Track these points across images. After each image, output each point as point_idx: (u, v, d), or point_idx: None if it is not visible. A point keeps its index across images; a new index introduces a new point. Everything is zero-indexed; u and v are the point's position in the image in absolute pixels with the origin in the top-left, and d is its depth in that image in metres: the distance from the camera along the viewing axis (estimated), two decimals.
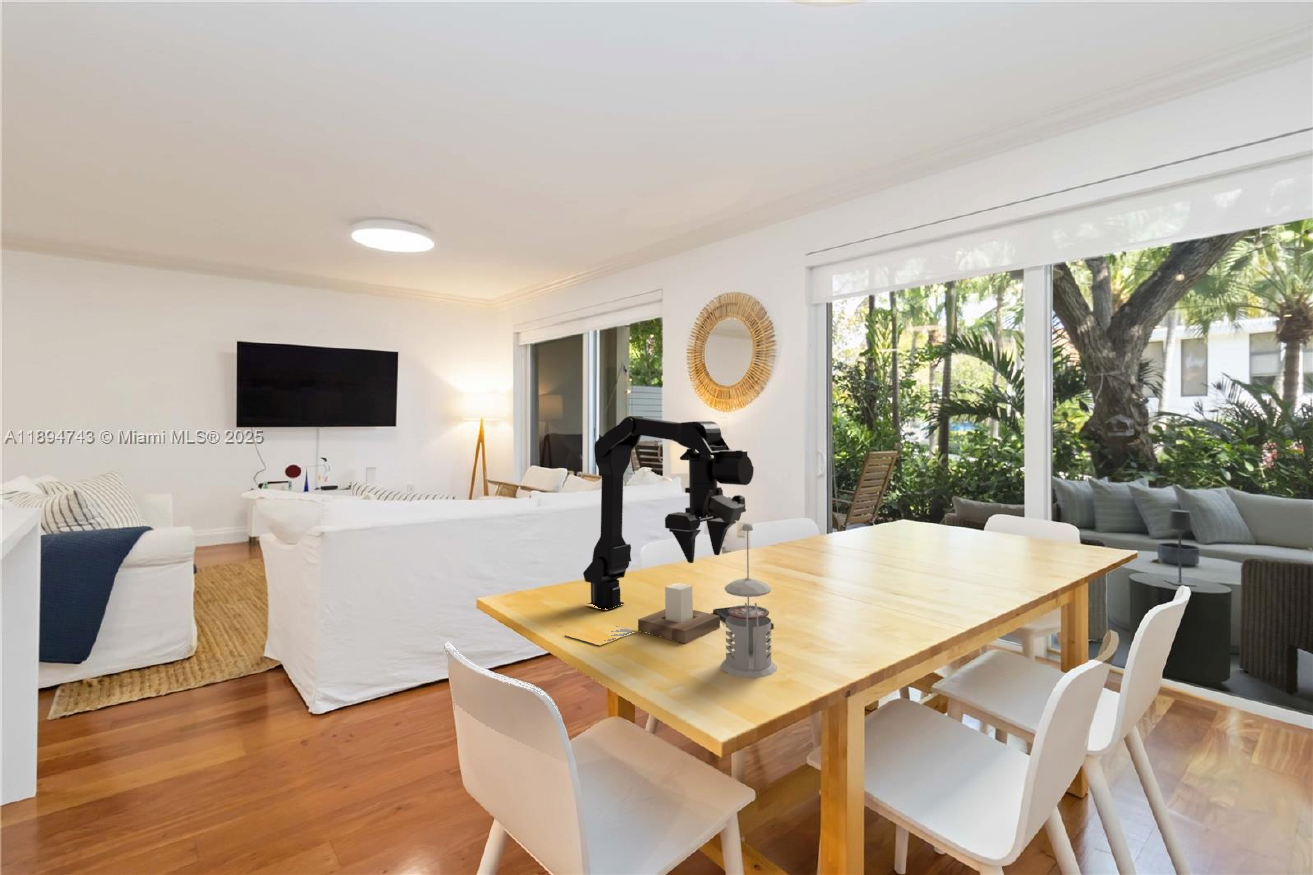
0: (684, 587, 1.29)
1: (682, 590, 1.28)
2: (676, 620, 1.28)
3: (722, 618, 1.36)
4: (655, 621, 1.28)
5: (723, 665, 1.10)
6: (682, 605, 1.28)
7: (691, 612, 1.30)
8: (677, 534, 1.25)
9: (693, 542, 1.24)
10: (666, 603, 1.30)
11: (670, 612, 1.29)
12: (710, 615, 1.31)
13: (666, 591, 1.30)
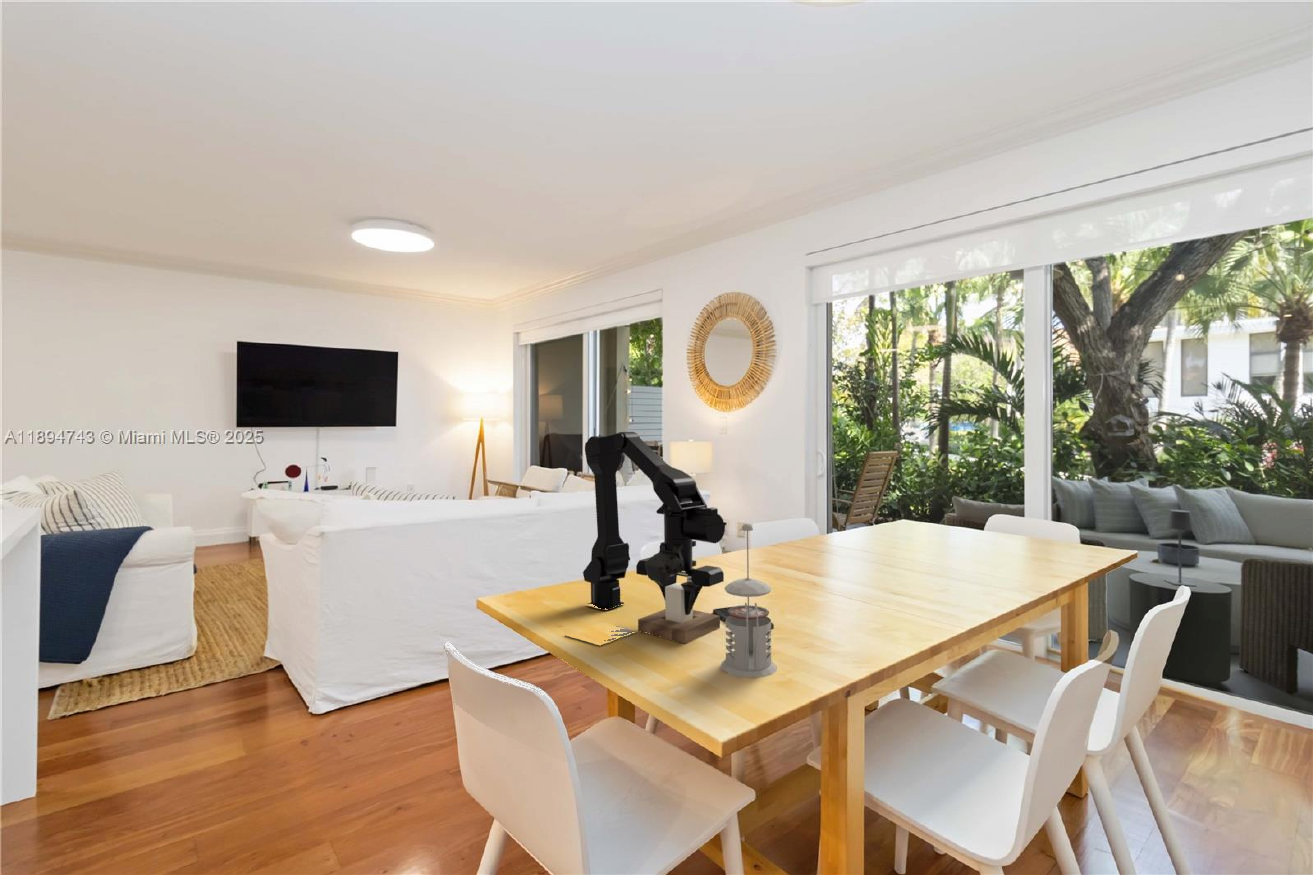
0: None
1: (682, 590, 1.28)
2: (676, 619, 1.28)
3: (722, 618, 1.36)
4: (655, 621, 1.28)
5: (723, 665, 1.10)
6: (682, 605, 1.28)
7: (691, 612, 1.30)
8: None
9: (664, 590, 1.31)
10: (666, 603, 1.30)
11: (670, 612, 1.29)
12: (710, 615, 1.31)
13: (666, 591, 1.30)
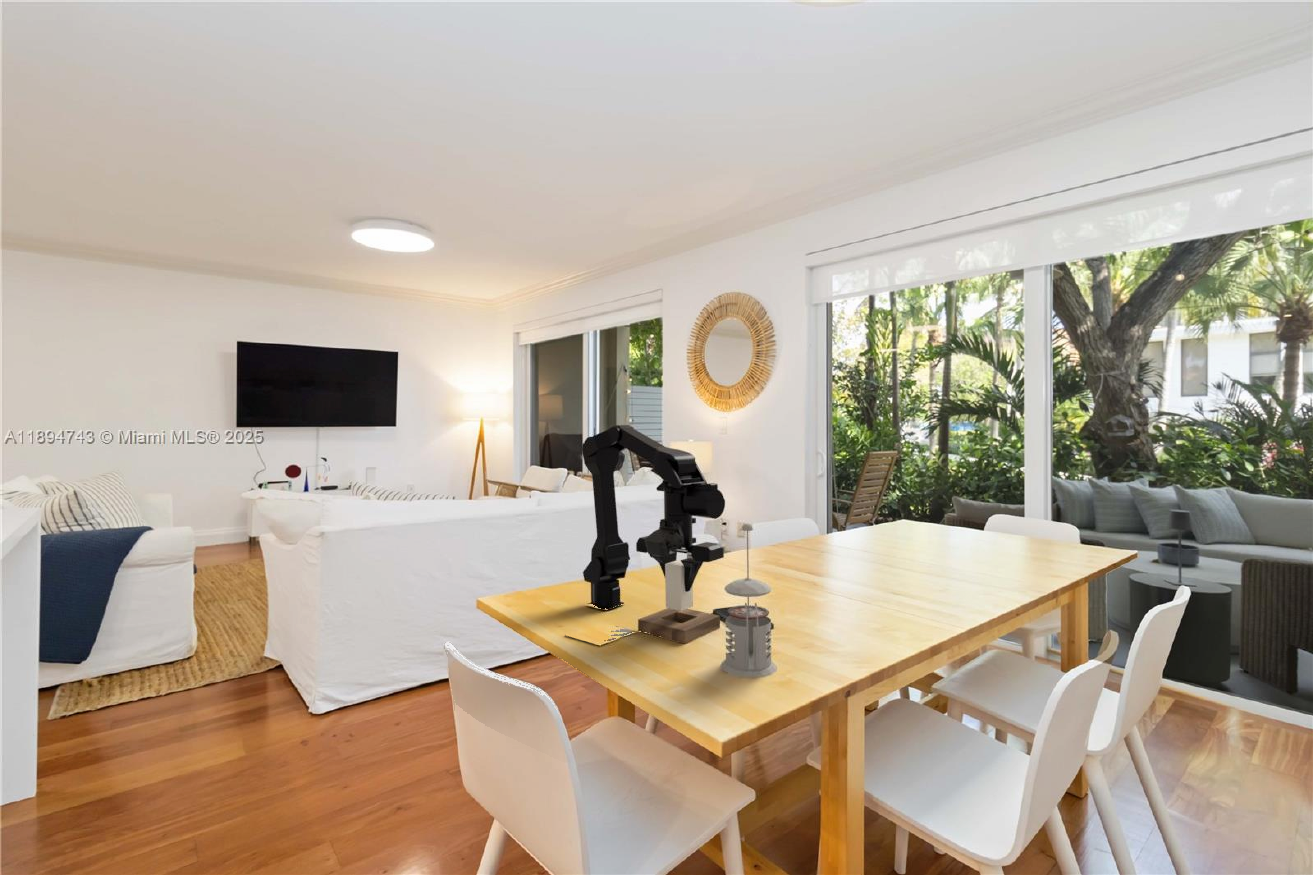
0: None
1: (682, 567, 1.28)
2: (676, 596, 1.28)
3: (722, 618, 1.36)
4: (655, 621, 1.28)
5: (723, 665, 1.10)
6: (682, 582, 1.27)
7: (691, 589, 1.30)
8: None
9: (664, 568, 1.31)
10: (665, 580, 1.30)
11: (670, 589, 1.29)
12: (710, 615, 1.31)
13: (666, 568, 1.29)
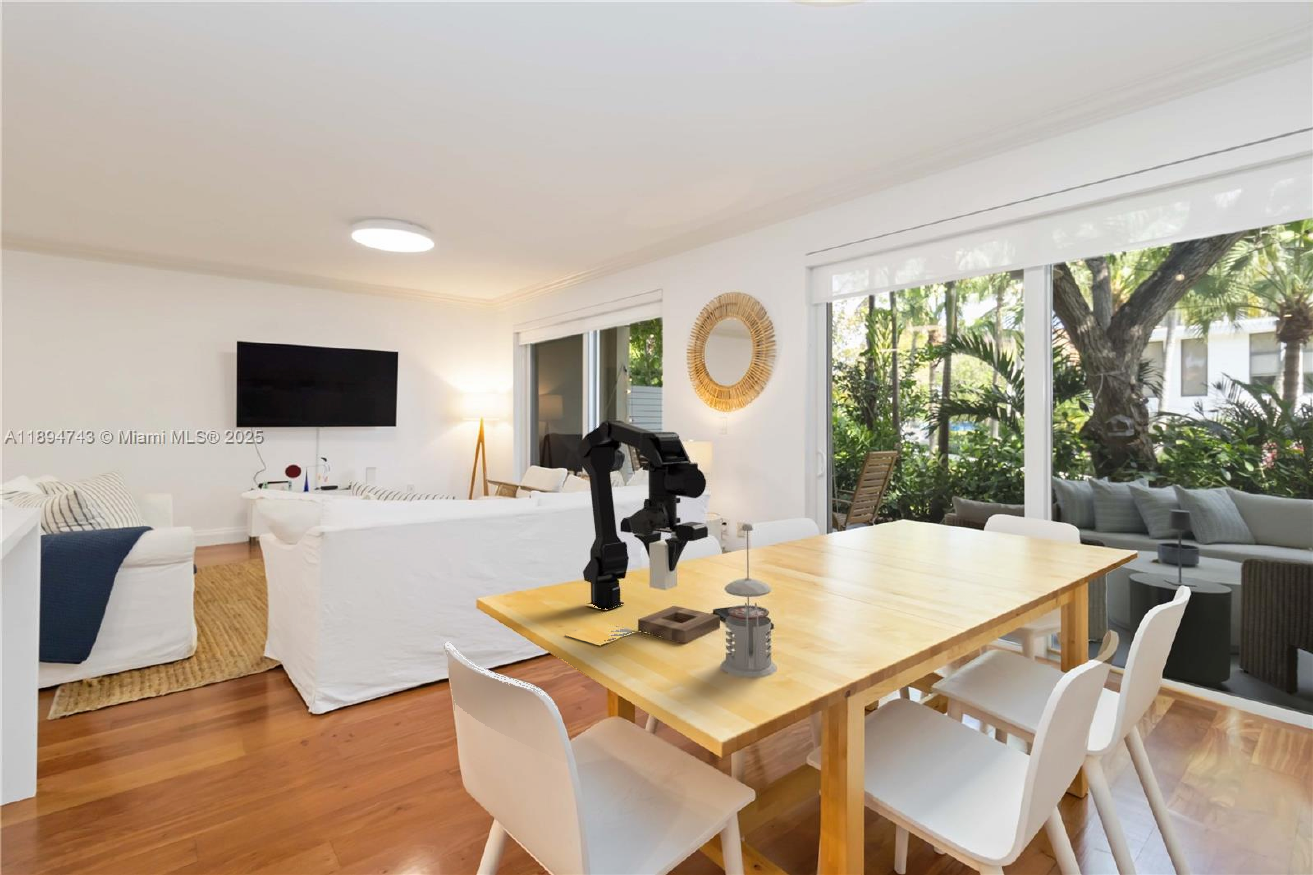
0: None
1: (666, 546, 1.27)
2: (660, 576, 1.28)
3: (722, 618, 1.36)
4: (655, 621, 1.28)
5: (723, 665, 1.10)
6: (666, 561, 1.27)
7: (675, 569, 1.29)
8: None
9: (648, 547, 1.30)
10: (650, 560, 1.29)
11: (654, 568, 1.28)
12: (710, 615, 1.31)
13: (650, 548, 1.29)
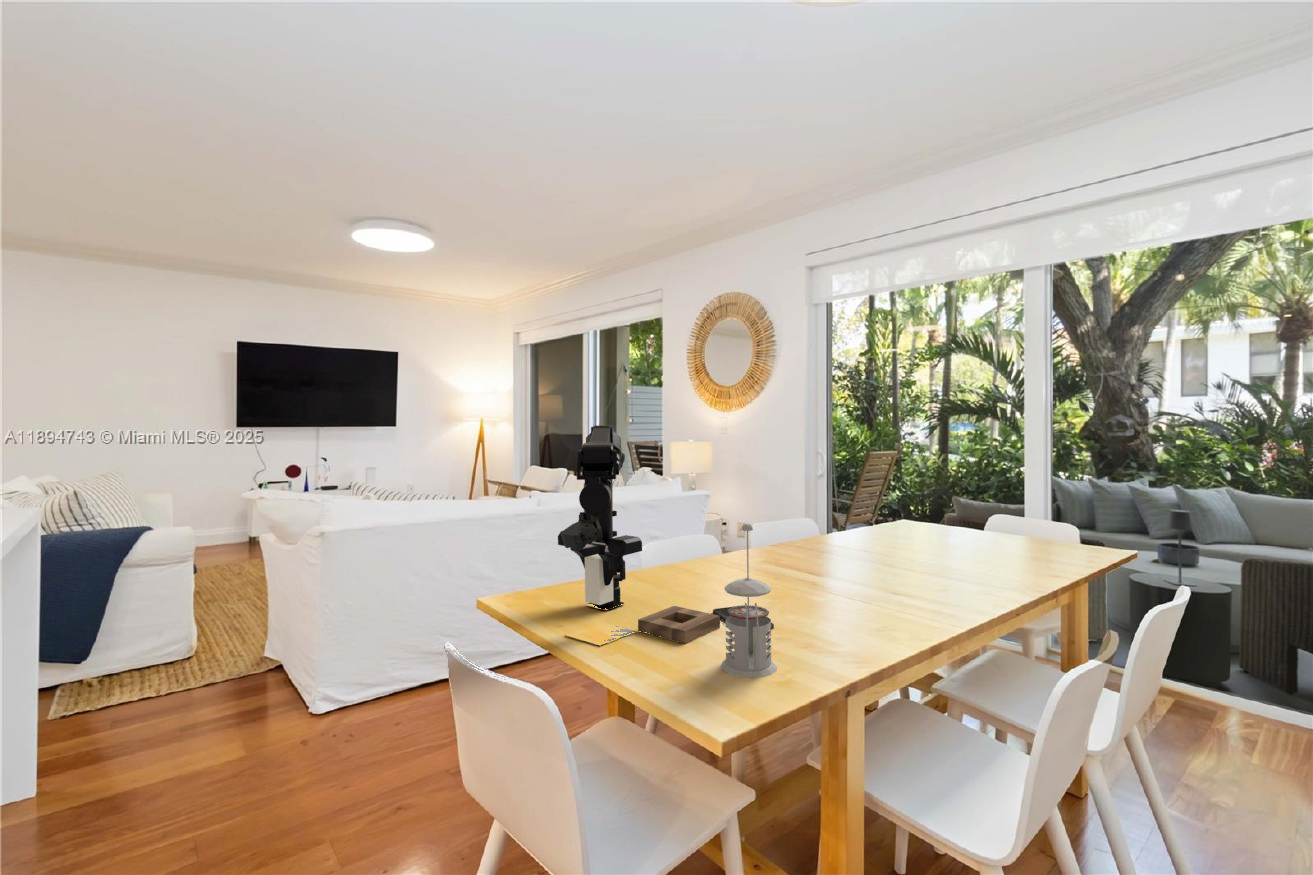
0: None
1: (601, 560, 1.25)
2: (595, 590, 1.26)
3: (722, 618, 1.36)
4: (655, 621, 1.28)
5: (723, 665, 1.10)
6: (600, 576, 1.25)
7: (611, 583, 1.28)
8: None
9: (584, 561, 1.29)
10: (585, 574, 1.27)
11: (589, 582, 1.27)
12: (710, 615, 1.31)
13: (585, 561, 1.27)
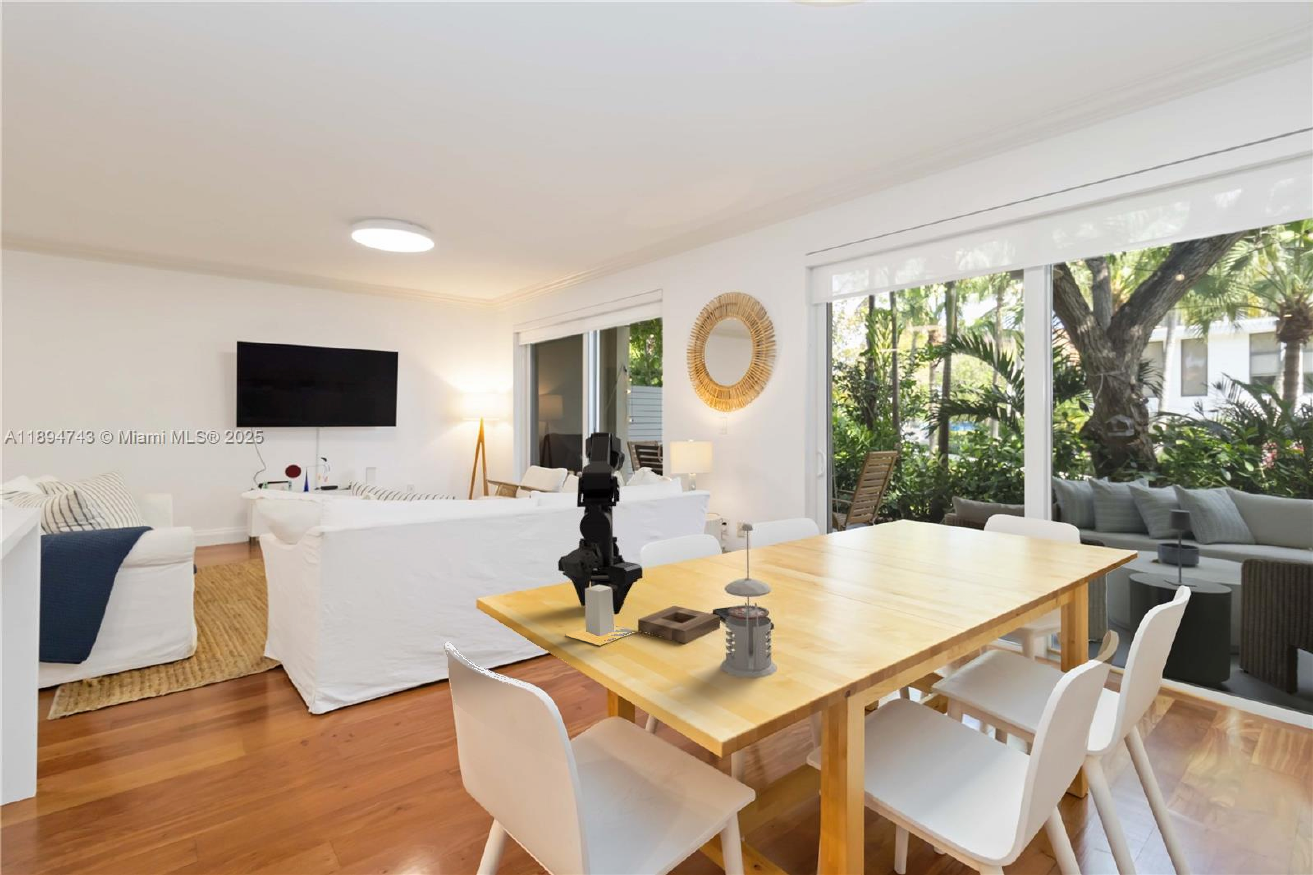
0: (604, 589, 1.27)
1: (601, 592, 1.25)
2: (595, 622, 1.26)
3: (722, 618, 1.36)
4: (655, 621, 1.28)
5: (723, 665, 1.10)
6: (600, 608, 1.25)
7: (611, 615, 1.28)
8: None
9: (576, 585, 1.30)
10: (585, 605, 1.27)
11: (589, 614, 1.27)
12: (710, 615, 1.31)
13: (586, 593, 1.27)
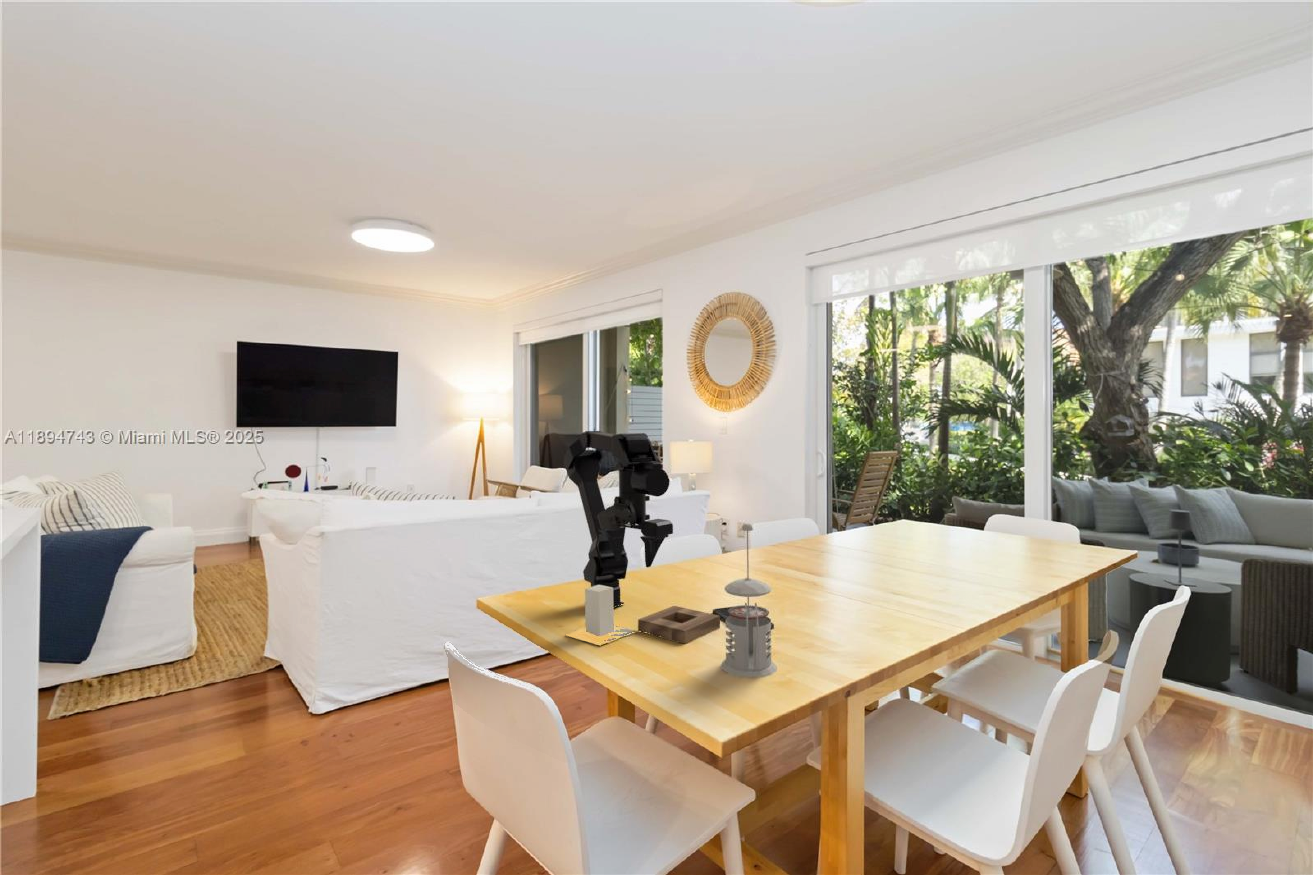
0: (604, 589, 1.27)
1: (601, 592, 1.25)
2: (595, 622, 1.26)
3: (722, 618, 1.36)
4: (655, 621, 1.28)
5: (723, 665, 1.10)
6: (600, 608, 1.25)
7: (611, 615, 1.28)
8: None
9: (611, 541, 1.39)
10: (585, 605, 1.27)
11: (589, 614, 1.27)
12: (710, 615, 1.31)
13: (586, 593, 1.27)
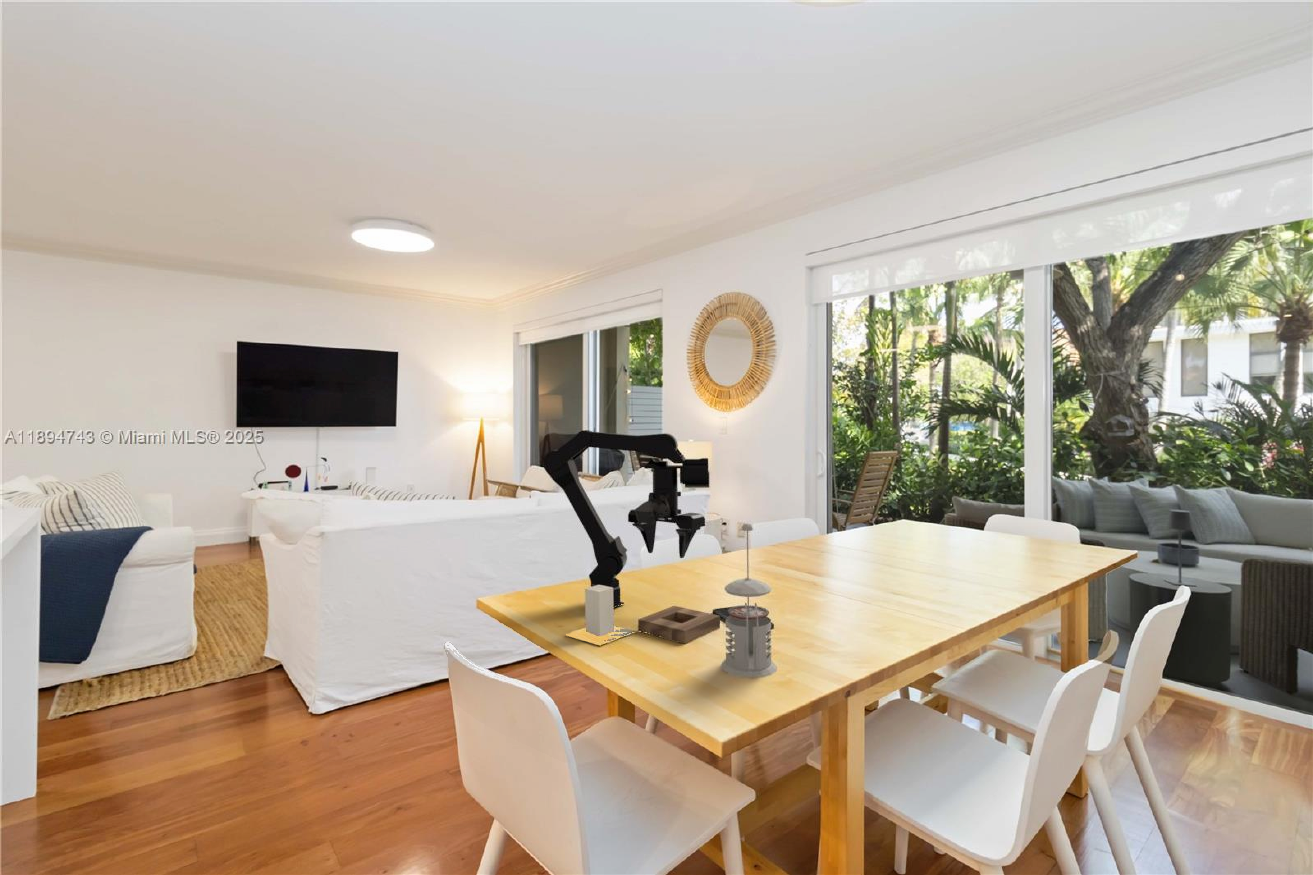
0: (604, 589, 1.27)
1: (601, 592, 1.25)
2: (595, 622, 1.26)
3: (722, 618, 1.36)
4: (655, 621, 1.28)
5: (723, 665, 1.10)
6: (600, 608, 1.25)
7: (611, 615, 1.28)
8: None
9: (644, 535, 1.48)
10: (585, 605, 1.27)
11: (589, 614, 1.27)
12: (710, 615, 1.31)
13: (586, 593, 1.27)
